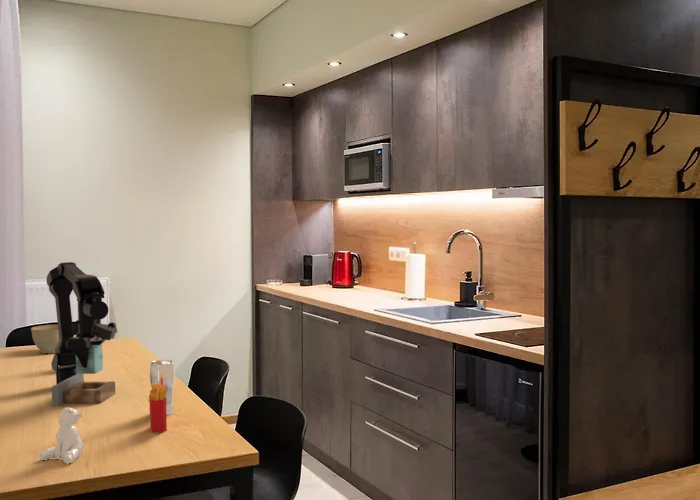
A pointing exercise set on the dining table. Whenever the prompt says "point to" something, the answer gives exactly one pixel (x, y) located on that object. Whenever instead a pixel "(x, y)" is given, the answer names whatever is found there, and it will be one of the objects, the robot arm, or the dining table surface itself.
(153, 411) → the french fries
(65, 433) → the sitting furry creature
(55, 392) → the slab
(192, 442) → the dining table surface
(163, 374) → the beer glass
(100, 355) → the pale teal cube
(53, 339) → the planter bowl
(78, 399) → the brown square frame
